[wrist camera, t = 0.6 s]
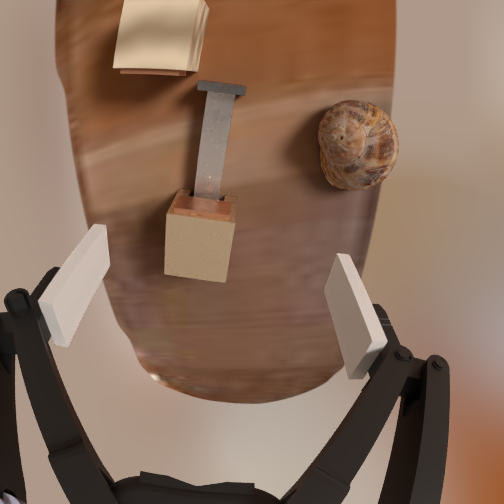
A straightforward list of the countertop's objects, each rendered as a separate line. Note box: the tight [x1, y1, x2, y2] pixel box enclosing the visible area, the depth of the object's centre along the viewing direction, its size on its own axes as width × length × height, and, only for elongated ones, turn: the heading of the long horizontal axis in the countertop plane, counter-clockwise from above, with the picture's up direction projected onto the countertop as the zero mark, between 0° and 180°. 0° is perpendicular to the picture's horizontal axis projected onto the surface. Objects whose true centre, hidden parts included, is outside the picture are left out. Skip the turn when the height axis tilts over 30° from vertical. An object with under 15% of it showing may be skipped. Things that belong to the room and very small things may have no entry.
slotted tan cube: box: [113, 0, 209, 76], centre depth 25 cm, size 9×7×8 cm
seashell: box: [318, 100, 398, 191], centre depth 33 cm, size 10×9×10 cm
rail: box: [164, 80, 246, 283], centre depth 35 cm, size 23×7×8 cm, turn 170°
